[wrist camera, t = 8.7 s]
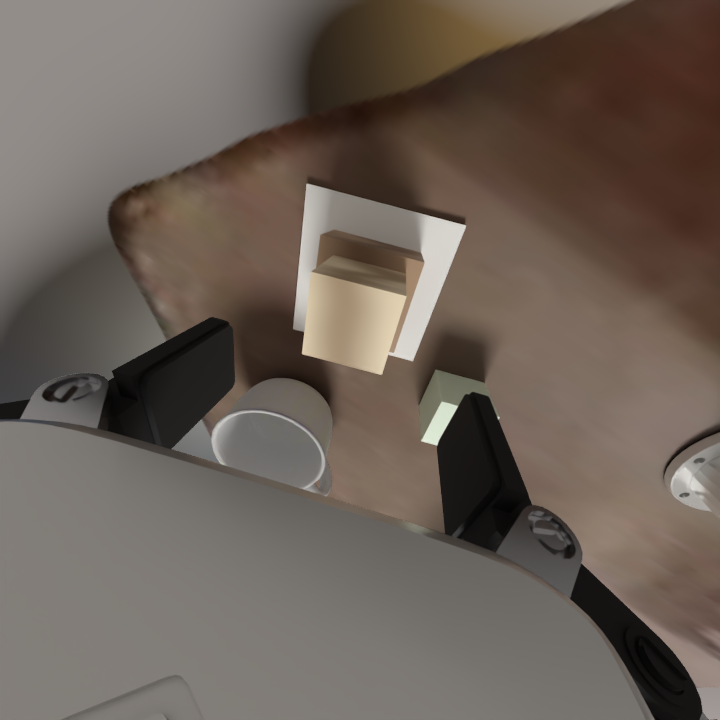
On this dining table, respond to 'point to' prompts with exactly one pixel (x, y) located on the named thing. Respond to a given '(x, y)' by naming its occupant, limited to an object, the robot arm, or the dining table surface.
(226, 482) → the robot arm
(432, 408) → the sage block
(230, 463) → the teacup
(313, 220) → the white mat
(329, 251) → the walnut base brick
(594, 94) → the dining table surface
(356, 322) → the maple block
